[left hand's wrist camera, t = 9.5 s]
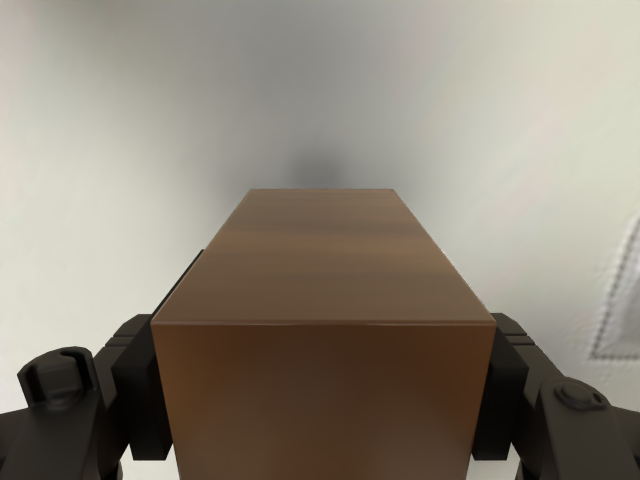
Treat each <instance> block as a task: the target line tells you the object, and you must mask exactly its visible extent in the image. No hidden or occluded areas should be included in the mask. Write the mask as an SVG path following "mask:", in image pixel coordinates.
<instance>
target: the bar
mask: <svg viewBox="0 0 640 480" xmlns="http://www.w3.org/2000/svg"><path fill="white" fill-rule="evenodd" d="M150 325H151V330H152V336H153V341H154V346H155V351H156V357H157V362H158V367H159V372H160V378H161V383H162V388H163V393H164V398H165V404H166V409H167V414H168V419H169V425H170V430H171V435H172V440H173V446H174V451H175V456H176V461H177V466H178V472H179V477H180V480H466V476H467V471H468V466H469V461H470V456H471V451H472V446H473V441H474V436H475V431H476V426H477V421H478V416H479V411H480V406H481V401H482V396H483V391H484V386H485V381H486V376H487V371H488V366H489V361H490V356H491V352H492V347H493V342H494V337H495V332H496V327H497V323H496V320H495V319H494V318H493V317H492V315H491V314H490V313H489V311H488V310H487V309H486V308H485V306H484V305H483V304H482V302H481V301H480V300H479V299H478V297H477V296H476V295H475V293H474V292H473V291H472V290H471V288H470V287H469V286H468V284H467V283H466V282H465V281H464V279H463V278H462V277H461V275H460V274H459V273H458V272H457V270H456V269H455V268H454V266H453V265H452V264H451V263H450V261H449V260H448V259H447V257H446V256H445V255H444V254H443V252H442V251H441V250H440V248H439V247H438V246H437V245H436V243H435V242H434V241H433V239H432V238H431V237H430V236H429V234H428V233H427V232H426V230H425V229H424V228H423V227H422V225H421V224H420V223H419V221H418V220H417V219H416V218H415V216H414V215H413V214H412V213H411V211H410V210H409V209H408V207H407V206H406V205H405V204H404V202H403V201H402V200H401V198H400V197H399V196H398V195H397V193H396V192H395V191H394V190H393V189H250V190H249V192H248V193H247V194H246V196H245V197H244V198H243V200H242V201H241V202H240V204H239V205H238V206H237V208H236V209H235V210H234V212H233V213H232V214H231V216H230V217H229V218H228V219H227V221H226V222H225V223H224V225H223V226H222V227H221V229H220V230H219V231H218V233H217V234H216V235H215V237H214V238H213V239H212V241H211V242H210V243H209V245H208V246H207V247H206V249H205V250H204V251H203V253H202V254H201V255H200V256H199V258H198V259H197V260H196V262H195V263H194V264H193V266H192V267H191V268H190V270H189V271H188V272H187V274H186V275H185V276H184V278H183V279H182V280H181V282H180V283H179V284H178V286H177V287H176V288H175V290H174V291H173V292H172V293H171V295H170V296H169V297H168V299H167V300H166V301H165V303H164V304H163V305H162V307H161V308H160V309H159V311H158V312H157V313H156V315H155V316H154V317H153V319H152V320H151V323H150Z"/></svg>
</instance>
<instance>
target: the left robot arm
mask: <svg viewBox="0 0 640 480" xmlns="http://www.w3.org/2000/svg"><path fill="white" fill-rule="evenodd" d="M204 250H205V249H202V250H201V251H200V253H199V254H198V255H197V256H196V258H195V259H194V260H193V262H192V263H191V264H190V266H189V267H188V268H187V269H186V271H185V272H184V273H183V275H182V276H181V277H180V278H179V280H178V281H177V282H176V284H175V285H174V286H173V287H172V289H171V290H170V291H169V293H168V294H167V295H166V297H165V298H164V299H163V300H162V302H161V303H160V304H159V306H158V307H157V308H156V309H155V311H154V312H153V313H152V314H138V315H136V316H135V317H133V318H131V319H130V320H128V321H127V322H125V323H124V324H122V326H121V327H120V328H119V329H118V330H117V331H116V333H115V334H114V335H113V337H111V338H110V339H109V341H108V342H107V343H106V344H105V347H103V348H102V349H101V350H100V351H99V352H98V353H97V354H96V356H95V357H94V358H93V357H92V353H91V352H90V351H89V350H88V349H86V348H83V347H77V346H74V347H64V348H60V349H56V350H53V351H49V352H47V353H45V354H43V355H41V356H38V357H36V358H34V359H33V360H32V361H30V362H29V363H27V364H26V365H25V366H23V368H22V369H21V370H20V371H19V372H18V374H17V377H18V379H19V382H20V385H21V388H22V390H23V393H24V396H25V399H26V401H27V404H28V408H25V409H21V410H16V411H12V412H7V413H3V414H0V480H122V478H123V472H122V466H121V462H120V459H121V457H122V455H123V453H124V452H125V450H126V448H127V446H128V444H130V448H131V452H132V456H133V460H166V458H167V455H168V453H169V451H170V448H171V446H172V444H173V440H172V435H171V430H170V425H169V419H168V414H167V409H166V404H165V398H164V393H163V388H162V383H161V378H160V372H159V367H158V362H157V357H156V351H155V346H154V341H153V336H152V330H151V325H150V323H151V320H152V319H153V317H154V316H155V315H156V313H157V312H158V311H159V309H160V308H161V307H162V305H163V304H164V303H165V301H166V300H167V299H168V297H169V296H170V295H171V293H172V292H173V291H174V290H175V288H176V287H177V286H178V284H179V283H180V282H181V280H182V279H183V278H184V276H185V275H186V274H187V272H188V271H189V270H190V268H191V267H192V266H193V264H194V263H195V262H196V260H197V259H198V258H199V256H200V255H201V254H202V253H203V251H204ZM490 314H491V315H492V317H493V318H494V319H495V320H496V323H497V327H496V332H495V337H494V342H493V347H492V352H491V356H490V361H489V366H488V371H487V376H486V381H485V386H484V391H483V396H482V401H481V406H480V411H479V416H478V421H477V426H476V431H475V436H474V441H473V446H472V451H471V453H472V455H473V458H474V460H507V456H508V452H509V448H510V444H511V442H512V444H513V446H514V448H515V450H516V451H517V453H518V455H519V457H520V462H519V466H518V470H517V473H516V477H515V480H640V412H636V411H631V410H627V409H622V408H618V407H614V406H611V404H610V403H609V401H608V400H607V398H606V397H605V396H604V395H602V394H601V393H600V392H599V391H597V390H596V389H595V388H593V387H591V386H589V385H588V384H586V383H584V382H582V381H579V380H576V379H573V378H570V377H564V376H563V374H562V373H561V372H560V371H559V370H558V369H557V368H556V366H555V365H554V364H553V363H552V362H551V361H550V360H549V358H548V357H547V356H546V355H545V354H544V353H543V352H542V350H541V349H540V348H539V347H538V346H536V345H535V342H534V341H533V340H532V339H531V338H530V337H529V336H527V333H526V332H525V331H524V330H523V329H522V328H521V326H520V325H519V324H518V323H517V322H515V321H514V320H512V319H511V318H509V317H508V316H506V315H504V314H503V313H490Z"/></svg>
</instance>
